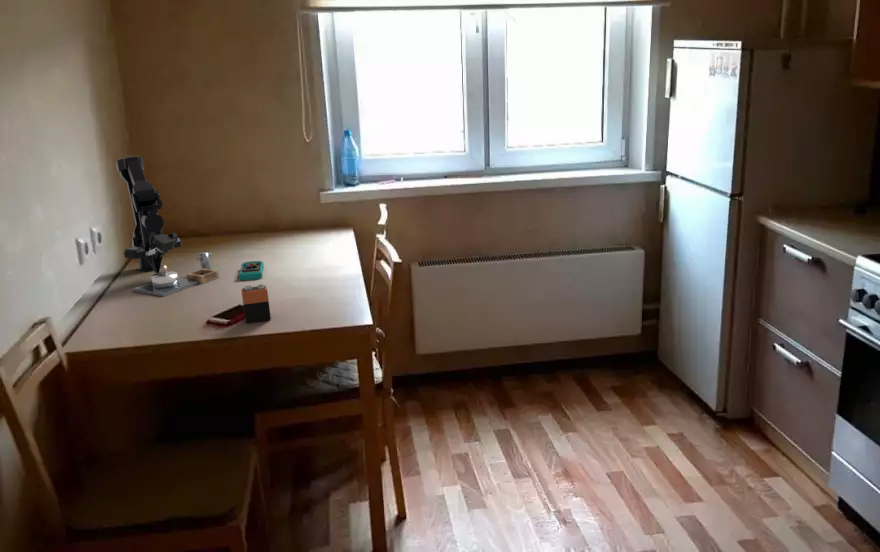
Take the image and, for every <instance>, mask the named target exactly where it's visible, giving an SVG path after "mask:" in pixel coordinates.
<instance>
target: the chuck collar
mask: <svg viewBox="0 0 880 552" xmlns="http://www.w3.org/2000/svg"><path fill="white" fill-rule="evenodd" d="M178 278H179V274H178V272H177V271H172V270H170V271H168V267H167V264H161V265H160V270H159V273H154V274H153V275H151V282H152V284H153V287H156V288H165V287H171V286H174V285H177V284H178V283H179V279H178Z"/></svg>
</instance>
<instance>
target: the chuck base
mask: <svg viewBox="0 0 880 552" xmlns="http://www.w3.org/2000/svg"><path fill="white" fill-rule="evenodd" d="M178 279H179V283H178V284H177V285H174V286H171V287H165V288H156V287H153V284H152V281H151V282H147V283H145V284H141V285H139V286H136V287H133V291H134V292H136V293H142V294H148V295H152V296H153V295H154V296H158V297H167V296H170V295H172V294H175V293H177V292H180V291H182V290H185V289H188V288H191V287H193V286H197V285H199V283H198V281H196V280H190V279H187V278H182V277H178Z"/></svg>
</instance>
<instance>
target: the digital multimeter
mask: <svg viewBox="0 0 880 552" xmlns="http://www.w3.org/2000/svg"><path fill="white" fill-rule="evenodd" d="M263 272H264V262H263V261H261V260H254V261H253V260H251V261H245V262H242V263H241V267H240V271H239V273H238V279H239V281H252V280H253V279H254V280H260V279H263Z"/></svg>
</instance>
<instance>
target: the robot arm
mask: <svg viewBox="0 0 880 552" xmlns="http://www.w3.org/2000/svg"><path fill="white" fill-rule="evenodd" d="M115 167H116V170H117V173H119V177H120V178H121V180H123V181H122V182H124V183H125V184H126V186H127V191H128V194H129V195H128V197H129V201H130V204H131V205H130V206H131V210H132V213H133V220H134V224H135V226H134V229H133V231H132V237H131V247H128V248H125V249H124V251H123V255H124V256H123V257H124V258H126V259H133V260H136V259H138V266H139V267H136V269H135V270H136V271H140V272H141V271H142V272H152V271H154V274H157V273H160V265H162V261H163V257H164V256H165V254H168V253H169V252H168V251H171V250H174V249H177V248H180V247H182V241H181V239H180V237H178V234H177V233H175V232H171V233H169V234H165V232H164V229H163V227H164V224H165V223H164V219H163V217H162V216H161V215H160V214H159V212H158V211H159V210H162V209H163V208H162V207H163V202H162V198H161V196H160V193H159V192H158V191H157V189H155V187H154V185H153V184H152V183H151V182H148V181H147V178H146V175H145V173H144V169H145V163H144V159H143V157H140V155H139V156H138V155H133V156H132V155H130V156H126V157H121V158H118V160H116V162H115Z"/></svg>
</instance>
